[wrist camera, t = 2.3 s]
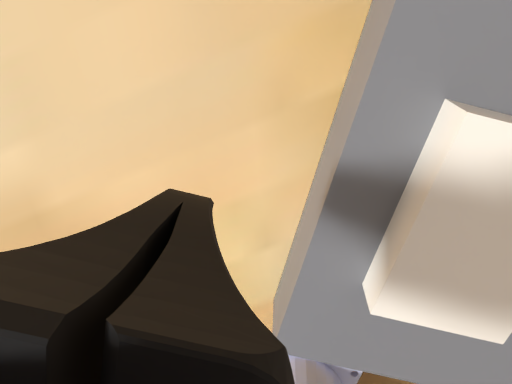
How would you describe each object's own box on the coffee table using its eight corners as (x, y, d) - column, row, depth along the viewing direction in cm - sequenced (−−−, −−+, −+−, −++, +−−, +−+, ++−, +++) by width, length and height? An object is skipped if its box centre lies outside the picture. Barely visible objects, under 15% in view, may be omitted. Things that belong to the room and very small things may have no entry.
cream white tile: (482, 312, 19) (502, 344, 17) (362, 284, 19) (370, 314, 17) (595, 137, 15) (637, 155, 13) (445, 98, 15) (467, 111, 13)
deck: (487, 348, 25) (521, 406, 22) (273, 300, 25) (272, 351, 21) (719, 12, 16) (841, 16, 13) (397, -76, 16) (430, -98, 12)
